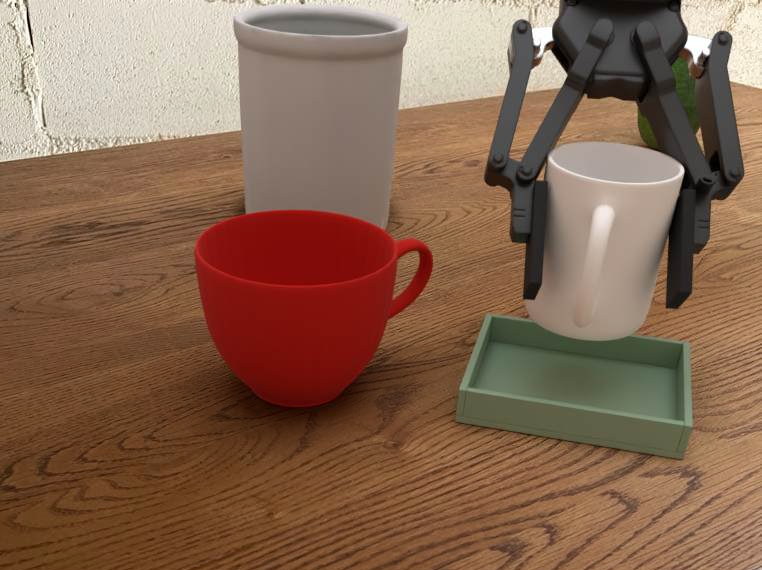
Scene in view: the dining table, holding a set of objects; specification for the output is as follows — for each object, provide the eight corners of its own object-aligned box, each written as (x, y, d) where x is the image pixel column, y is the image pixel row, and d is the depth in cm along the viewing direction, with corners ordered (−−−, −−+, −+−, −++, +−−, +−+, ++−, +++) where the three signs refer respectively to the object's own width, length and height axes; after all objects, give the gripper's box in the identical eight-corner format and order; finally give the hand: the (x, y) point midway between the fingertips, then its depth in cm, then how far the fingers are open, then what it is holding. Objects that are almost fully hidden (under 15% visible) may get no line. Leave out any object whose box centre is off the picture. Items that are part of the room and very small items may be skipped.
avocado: (623, 139, 115) (645, 30, 107) (686, 142, 115) (713, 34, 107) (635, 159, 109) (660, 45, 101) (703, 162, 109) (732, 48, 101)
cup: (647, 299, 66) (685, 150, 59) (639, 379, 56) (683, 213, 50) (531, 281, 67) (555, 134, 61) (505, 356, 58) (530, 193, 52)
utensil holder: (336, 187, 98) (340, -3, 87) (427, 232, 88) (443, 25, 77) (213, 213, 91) (200, 9, 80) (298, 264, 81) (296, 42, 70)
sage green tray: (681, 372, 68) (690, 341, 67) (682, 460, 59) (693, 426, 58) (482, 343, 71) (486, 312, 69) (454, 422, 62) (458, 389, 60)
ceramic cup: (472, 392, 65) (489, 253, 59) (252, 452, 58) (245, 303, 52) (378, 318, 74) (384, 190, 67) (177, 363, 67) (163, 226, 61)
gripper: (763, 2, 63) (753, 327, 60) (452, -14, 63) (430, 307, 61) (815, -84, 55) (806, 284, 53) (462, -101, 56) (437, 261, 53)
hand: (605, 296), depth 57 cm, fingers closed on cup, 8 cm apart
